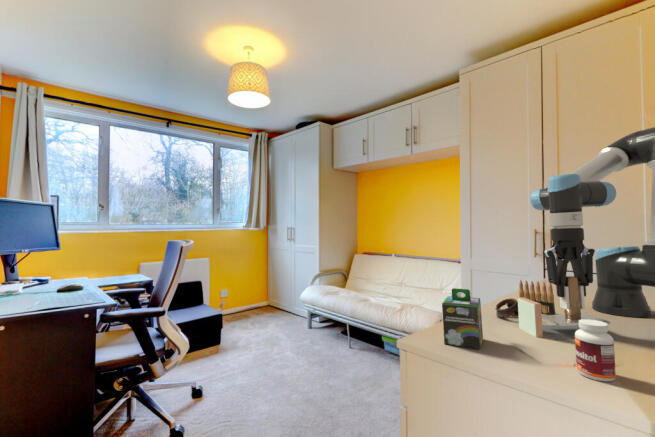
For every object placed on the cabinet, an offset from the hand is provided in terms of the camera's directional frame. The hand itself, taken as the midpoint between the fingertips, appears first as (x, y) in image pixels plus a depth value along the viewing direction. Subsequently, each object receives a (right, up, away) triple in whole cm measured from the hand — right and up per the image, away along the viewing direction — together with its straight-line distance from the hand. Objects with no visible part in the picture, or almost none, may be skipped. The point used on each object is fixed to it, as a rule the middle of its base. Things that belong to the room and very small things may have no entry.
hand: (572, 307), depth 87 cm
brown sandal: (-8, -9, +15) cm, 19 cm away
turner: (0, -4, 0) cm, 4 cm away
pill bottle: (-15, -7, -24) cm, 29 cm away
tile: (-12, -8, 0) cm, 15 cm away
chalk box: (-33, -9, -4) cm, 35 cm away
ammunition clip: (+3, -9, +20) cm, 22 cm away
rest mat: (0, -8, 0) cm, 8 cm away
